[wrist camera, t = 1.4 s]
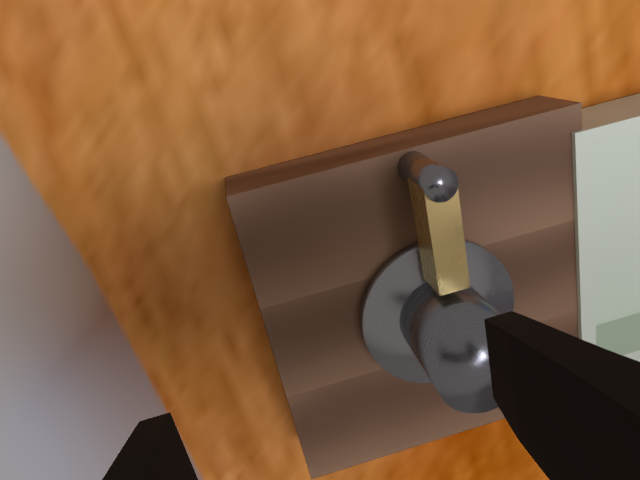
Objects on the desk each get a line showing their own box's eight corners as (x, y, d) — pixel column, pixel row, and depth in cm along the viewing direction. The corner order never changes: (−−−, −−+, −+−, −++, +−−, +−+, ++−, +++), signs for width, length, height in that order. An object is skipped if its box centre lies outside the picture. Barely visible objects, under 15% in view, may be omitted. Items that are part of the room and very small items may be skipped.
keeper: (441, 259, 18) (471, 288, 16) (414, 266, 18) (441, 297, 16) (425, 148, 17) (456, 163, 15) (395, 155, 17) (422, 173, 15)
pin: (481, 318, 23) (575, 416, 17) (358, 355, 22) (409, 470, 16) (467, 197, 21) (569, 260, 15) (330, 235, 20) (377, 316, 14)
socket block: (554, 358, 24) (589, 391, 22) (302, 435, 23) (311, 479, 21) (539, 95, 20) (581, 102, 17) (224, 177, 19) (225, 196, 16)
